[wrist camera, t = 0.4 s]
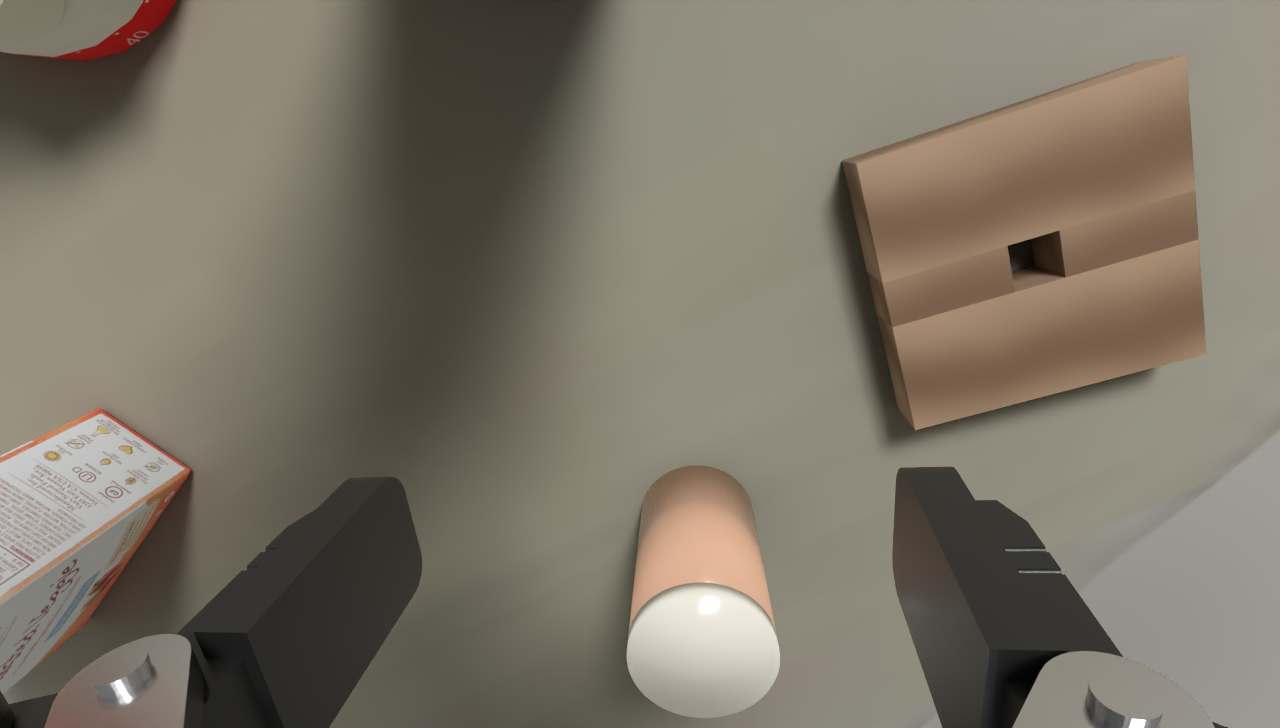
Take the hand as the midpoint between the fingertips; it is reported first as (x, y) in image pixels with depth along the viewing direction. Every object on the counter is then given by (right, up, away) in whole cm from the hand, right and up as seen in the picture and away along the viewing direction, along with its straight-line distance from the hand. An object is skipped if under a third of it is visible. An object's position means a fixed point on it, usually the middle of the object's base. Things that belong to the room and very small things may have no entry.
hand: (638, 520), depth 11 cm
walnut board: (+16, +8, +18) cm, 26 cm away
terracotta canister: (+3, -5, +24) cm, 25 cm away
